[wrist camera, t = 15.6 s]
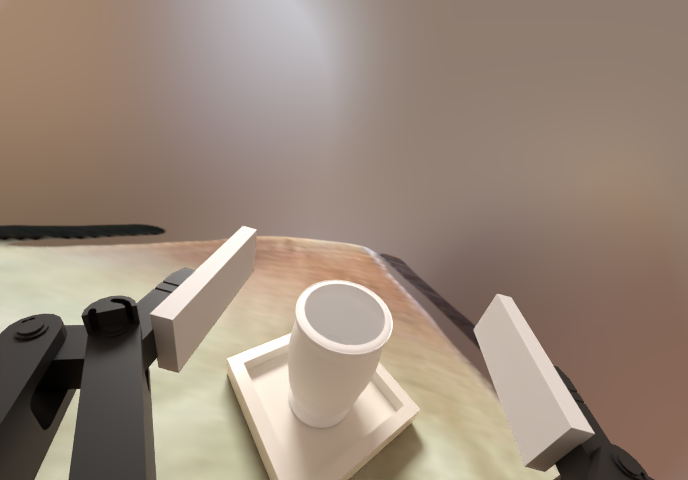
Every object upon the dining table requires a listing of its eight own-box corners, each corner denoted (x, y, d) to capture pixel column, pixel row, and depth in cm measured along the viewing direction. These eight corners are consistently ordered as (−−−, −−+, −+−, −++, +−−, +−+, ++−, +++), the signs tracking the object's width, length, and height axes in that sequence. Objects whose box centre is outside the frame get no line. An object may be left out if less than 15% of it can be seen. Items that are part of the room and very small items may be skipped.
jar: (306, 347, 42) (324, 267, 35) (369, 380, 39) (402, 302, 32) (262, 410, 33) (273, 320, 26) (339, 458, 30) (376, 374, 23)
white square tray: (227, 374, 37) (227, 358, 35) (334, 327, 48) (338, 314, 46) (290, 531, 26) (295, 518, 24) (411, 422, 37) (420, 409, 35)
